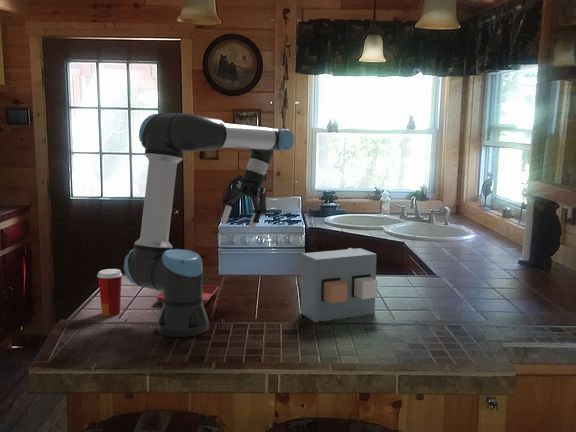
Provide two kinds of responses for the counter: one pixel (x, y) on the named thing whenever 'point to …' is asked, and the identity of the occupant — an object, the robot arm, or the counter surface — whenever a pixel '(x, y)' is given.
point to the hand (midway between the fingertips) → (236, 226)
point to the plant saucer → (207, 294)
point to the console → (332, 269)
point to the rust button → (335, 291)
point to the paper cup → (110, 291)
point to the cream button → (365, 287)
